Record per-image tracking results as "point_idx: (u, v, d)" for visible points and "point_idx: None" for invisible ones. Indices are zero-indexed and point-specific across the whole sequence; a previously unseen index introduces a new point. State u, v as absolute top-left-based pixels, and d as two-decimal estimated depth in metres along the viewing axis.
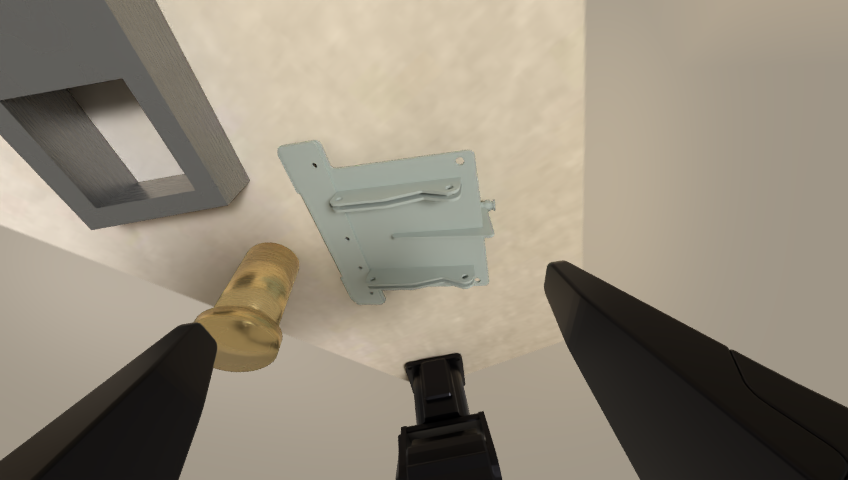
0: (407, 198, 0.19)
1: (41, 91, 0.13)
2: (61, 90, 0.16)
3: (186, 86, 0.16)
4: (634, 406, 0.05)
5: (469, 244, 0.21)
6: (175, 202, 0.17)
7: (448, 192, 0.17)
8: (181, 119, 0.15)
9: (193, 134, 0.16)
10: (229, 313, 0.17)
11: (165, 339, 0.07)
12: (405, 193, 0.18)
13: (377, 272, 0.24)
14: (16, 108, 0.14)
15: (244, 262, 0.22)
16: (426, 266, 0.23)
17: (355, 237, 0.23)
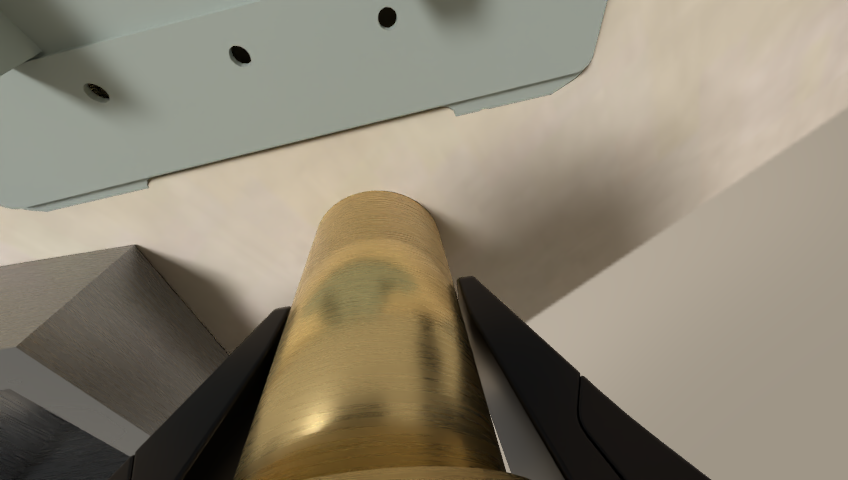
0: None
1: None
2: None
3: None
4: (508, 429, 0.05)
5: None
6: (82, 415, 0.07)
7: None
8: None
9: None
10: None
11: (266, 322, 0.07)
12: None
13: None
14: None
15: None
16: None
17: (212, 14, 0.05)
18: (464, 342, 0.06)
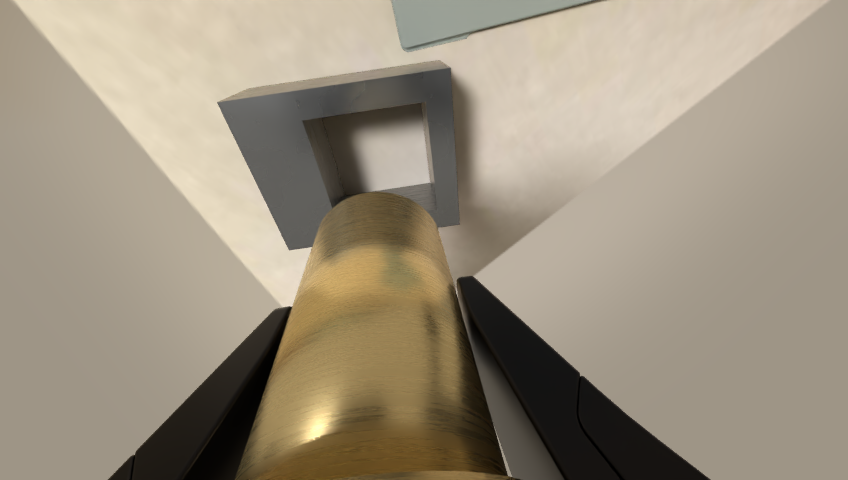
0: None
1: (326, 193, 0.16)
2: (345, 198, 0.19)
3: (321, 80, 0.14)
4: (507, 429, 0.05)
5: None
6: (439, 132, 0.14)
7: None
8: (341, 82, 0.13)
9: (360, 79, 0.13)
10: None
11: (266, 322, 0.07)
12: None
13: None
14: None
15: None
16: None
17: None
18: (465, 344, 0.06)
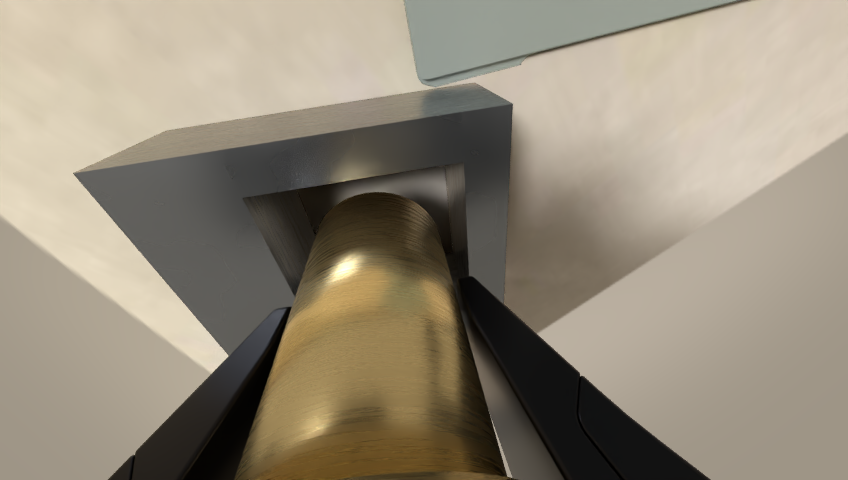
0: None
1: None
2: None
3: (281, 121, 0.09)
4: (507, 429, 0.05)
5: None
6: (482, 208, 0.08)
7: None
8: (310, 131, 0.07)
9: (346, 124, 0.07)
10: None
11: (267, 322, 0.07)
12: None
13: None
14: None
15: None
16: None
17: None
18: (464, 344, 0.06)
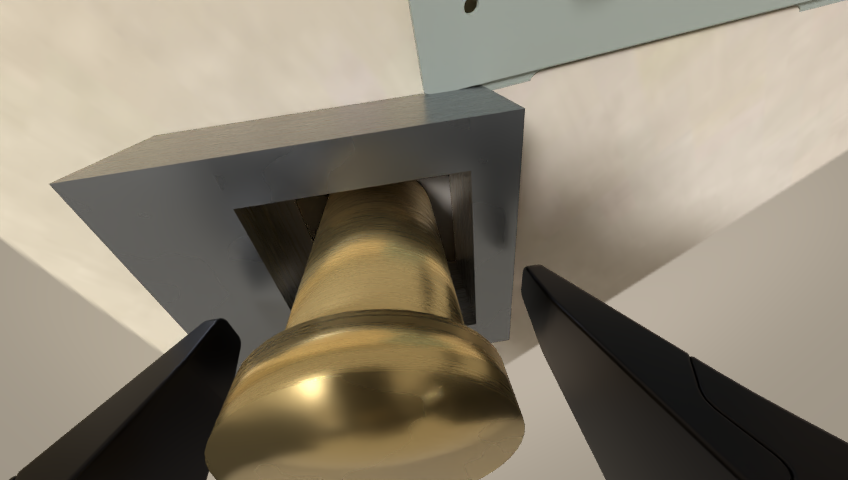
0: None
1: None
2: None
3: (275, 125, 0.08)
4: (600, 412, 0.05)
5: None
6: (490, 219, 0.08)
7: None
8: (306, 138, 0.07)
9: (345, 130, 0.07)
10: None
11: (192, 334, 0.07)
12: None
13: None
14: None
15: None
16: None
17: None
18: (446, 273, 0.07)
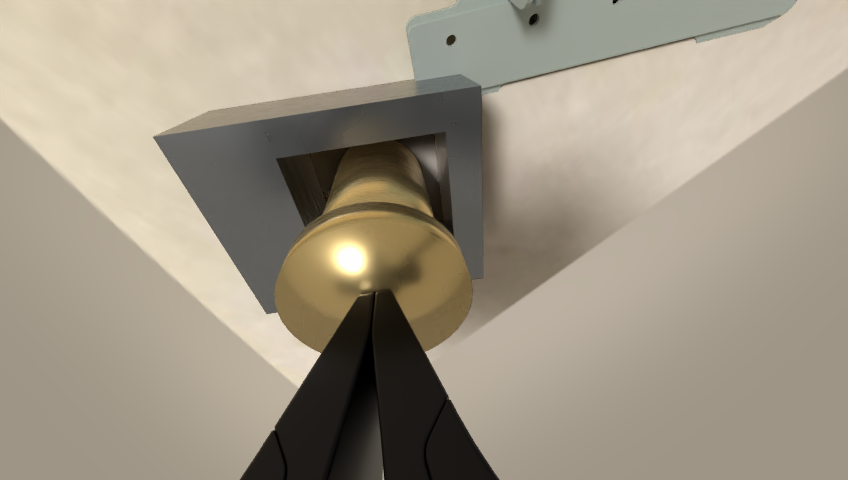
0: None
1: None
2: None
3: (303, 101, 0.11)
4: None
5: None
6: (462, 170, 0.11)
7: None
8: (328, 107, 0.09)
9: (355, 101, 0.10)
10: None
11: (356, 307, 0.07)
12: None
13: None
14: None
15: None
16: None
17: None
18: (427, 206, 0.10)
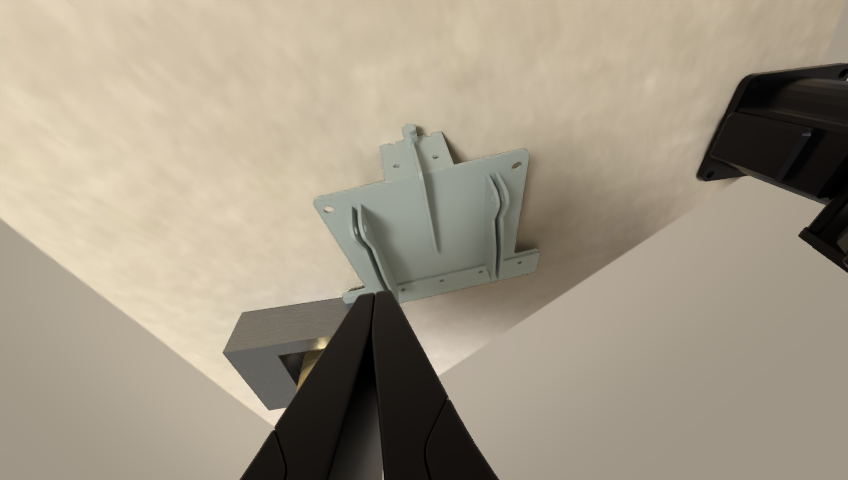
0: None
1: (294, 383, 0.23)
2: None
3: (291, 317, 0.22)
4: None
5: (448, 184, 0.15)
6: None
7: (353, 239, 0.15)
8: (302, 336, 0.21)
9: (315, 331, 0.21)
10: None
11: (356, 307, 0.07)
12: (368, 262, 0.17)
13: (485, 263, 0.21)
14: None
15: None
16: (484, 221, 0.18)
17: (439, 275, 0.22)
18: None
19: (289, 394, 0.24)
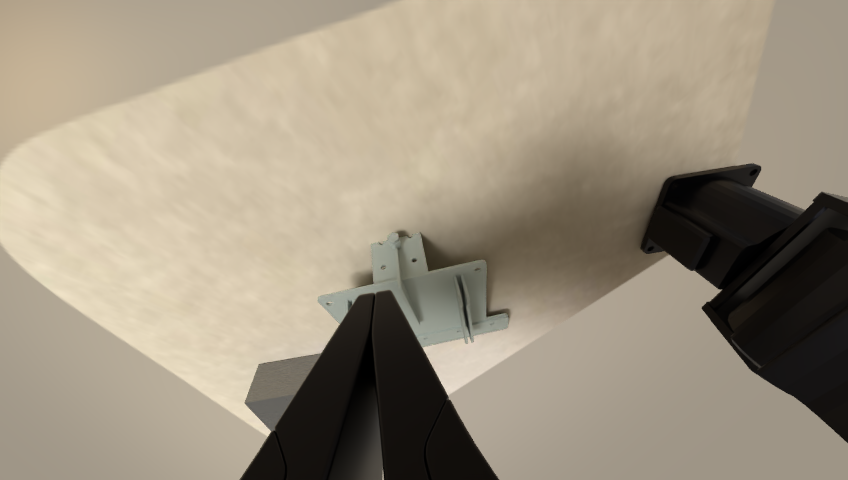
0: None
1: None
2: None
3: (299, 369, 0.26)
4: None
5: (423, 283, 0.20)
6: None
7: None
8: None
9: None
10: None
11: (357, 306, 0.07)
12: None
13: None
14: None
15: None
16: (457, 301, 0.22)
17: (423, 335, 0.26)
18: None
19: None
